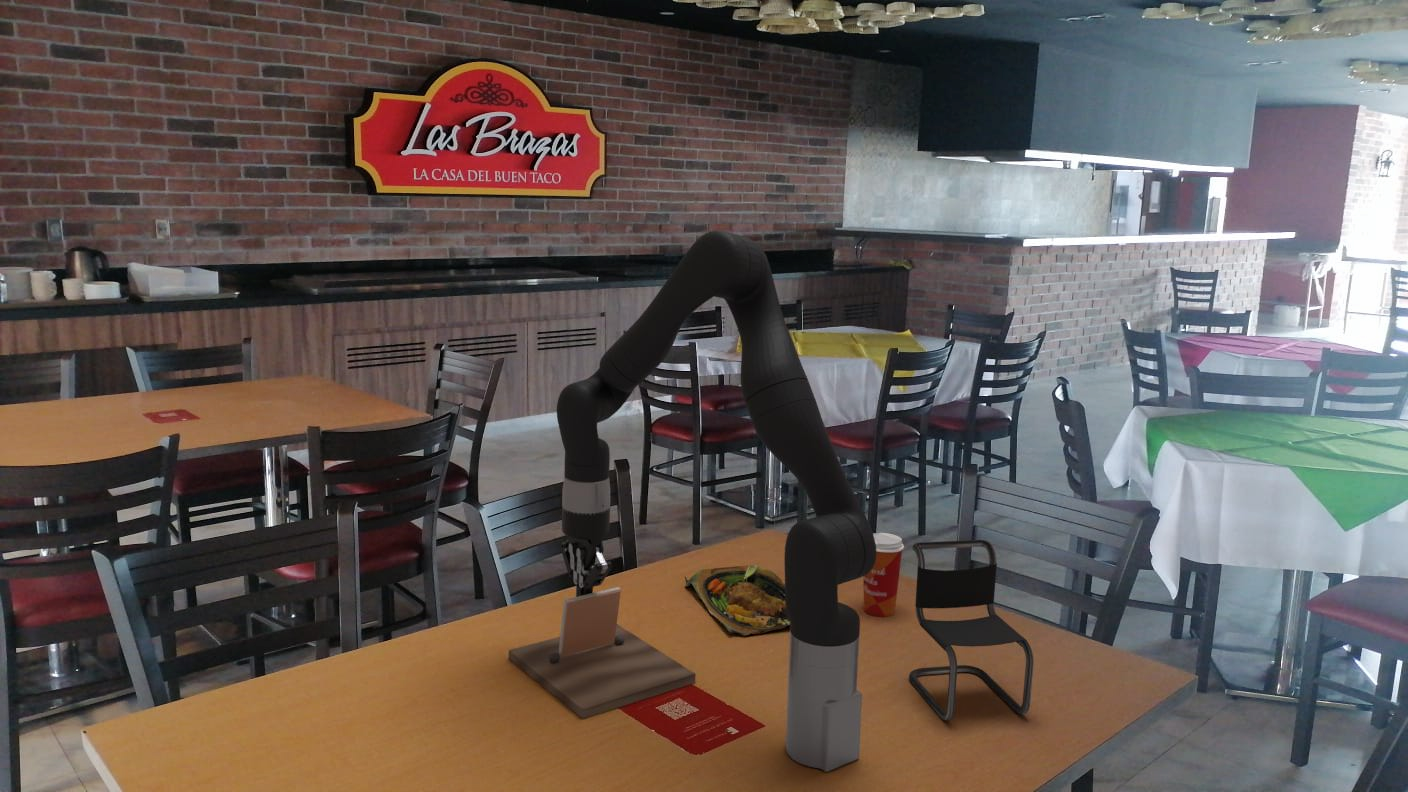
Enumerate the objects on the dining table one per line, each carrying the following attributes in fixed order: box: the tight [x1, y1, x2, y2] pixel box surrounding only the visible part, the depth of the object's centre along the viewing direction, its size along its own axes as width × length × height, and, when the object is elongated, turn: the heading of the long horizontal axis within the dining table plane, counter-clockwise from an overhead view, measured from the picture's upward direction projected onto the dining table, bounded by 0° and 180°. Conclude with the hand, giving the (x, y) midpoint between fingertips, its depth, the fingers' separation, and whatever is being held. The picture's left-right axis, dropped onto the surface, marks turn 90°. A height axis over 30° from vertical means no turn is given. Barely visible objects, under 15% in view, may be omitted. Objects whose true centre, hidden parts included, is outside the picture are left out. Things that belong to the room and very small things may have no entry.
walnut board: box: [508, 623, 697, 720], centre depth 160 cm, size 24×20×3 cm
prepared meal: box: [683, 564, 790, 637], centre depth 189 cm, size 28×4×18 cm
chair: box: [908, 539, 1034, 722], centre depth 152 cm, size 13×17×22 cm
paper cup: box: [862, 532, 905, 618], centre depth 186 cm, size 8×8×14 cm
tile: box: [559, 586, 622, 657], centre depth 162 cm, size 10×10×1 cm
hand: (584, 606), depth 163 cm, fingers closed
